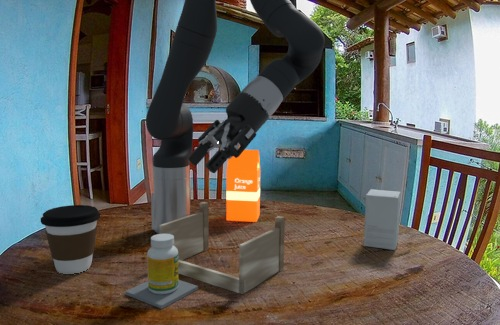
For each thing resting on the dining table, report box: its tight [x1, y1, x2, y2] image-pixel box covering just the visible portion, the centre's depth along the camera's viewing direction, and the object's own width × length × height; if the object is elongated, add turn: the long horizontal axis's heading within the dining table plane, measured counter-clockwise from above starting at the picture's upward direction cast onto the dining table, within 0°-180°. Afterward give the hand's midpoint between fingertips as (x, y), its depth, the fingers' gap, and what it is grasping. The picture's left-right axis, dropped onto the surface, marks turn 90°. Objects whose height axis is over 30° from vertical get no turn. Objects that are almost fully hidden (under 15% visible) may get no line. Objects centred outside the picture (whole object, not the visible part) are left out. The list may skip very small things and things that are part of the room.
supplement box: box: [363, 188, 401, 251], centre depth 102 cm, size 7×7×13 cm
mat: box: [124, 279, 199, 310], centre depth 76 cm, size 9×9×1 cm
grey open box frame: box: [159, 201, 286, 295], centre depth 86 cm, size 21×14×11 cm, turn 56°
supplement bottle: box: [146, 233, 180, 295], centre depth 75 cm, size 5×5×10 cm
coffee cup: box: [40, 204, 101, 275], centre depth 85 cm, size 11×11×12 cm
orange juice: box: [225, 149, 261, 223], centre depth 123 cm, size 8×9×20 cm
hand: (199, 166), depth 79 cm, fingers open, 8 cm apart
